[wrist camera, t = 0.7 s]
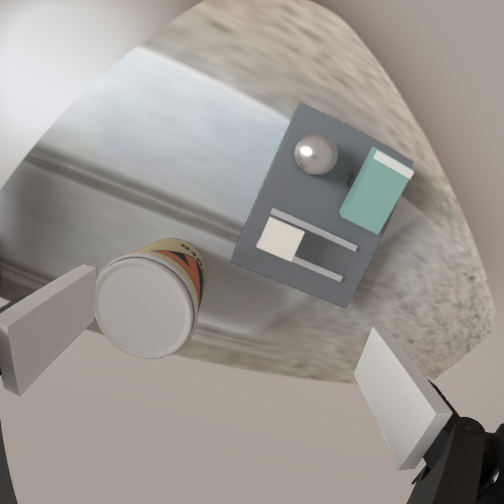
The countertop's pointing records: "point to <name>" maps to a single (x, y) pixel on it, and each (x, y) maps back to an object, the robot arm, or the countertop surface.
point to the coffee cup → (151, 298)
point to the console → (314, 213)
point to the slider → (280, 239)
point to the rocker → (375, 191)
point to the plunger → (315, 154)
